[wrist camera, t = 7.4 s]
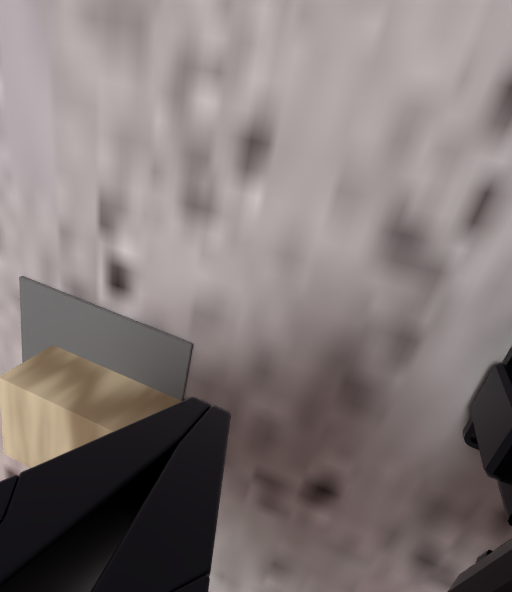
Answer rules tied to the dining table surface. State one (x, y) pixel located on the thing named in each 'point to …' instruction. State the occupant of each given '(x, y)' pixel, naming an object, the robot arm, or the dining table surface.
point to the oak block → (68, 405)
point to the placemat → (102, 338)
